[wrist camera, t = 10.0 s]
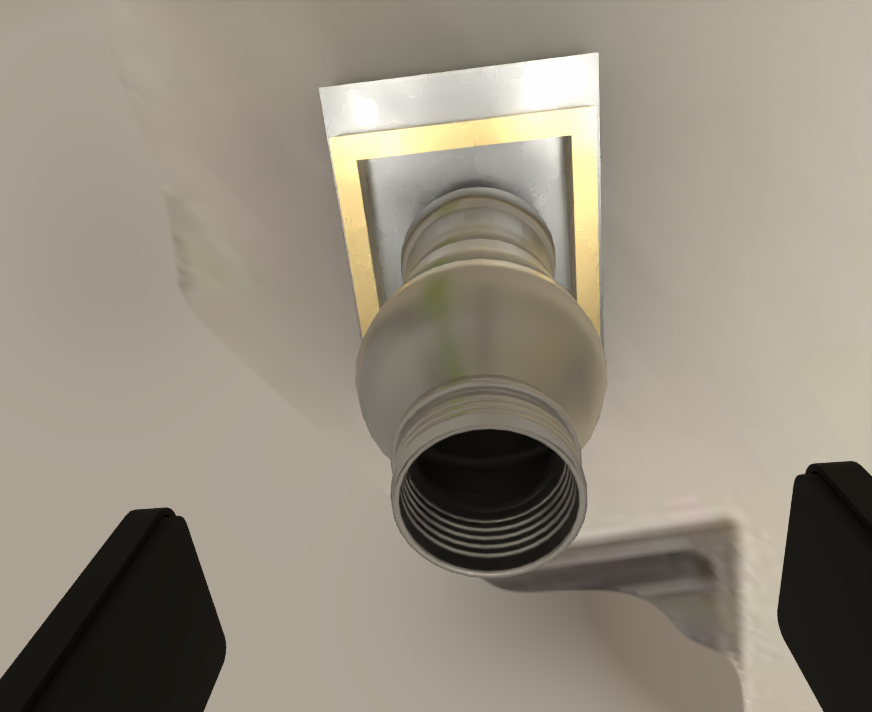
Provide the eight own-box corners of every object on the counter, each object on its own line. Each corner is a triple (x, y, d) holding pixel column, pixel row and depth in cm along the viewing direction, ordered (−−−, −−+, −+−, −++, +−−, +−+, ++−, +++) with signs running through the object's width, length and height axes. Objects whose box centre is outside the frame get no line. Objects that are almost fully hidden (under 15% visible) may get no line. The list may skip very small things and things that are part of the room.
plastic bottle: (545, 313, 32) (654, 638, 13) (407, 312, 32) (325, 630, 13) (552, 177, 29) (699, 345, 11) (402, 178, 29) (293, 344, 11)
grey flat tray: (332, 87, 31) (308, 87, 26) (586, 55, 30) (607, 50, 25) (381, 388, 37) (368, 431, 32) (593, 370, 36) (612, 412, 31)
